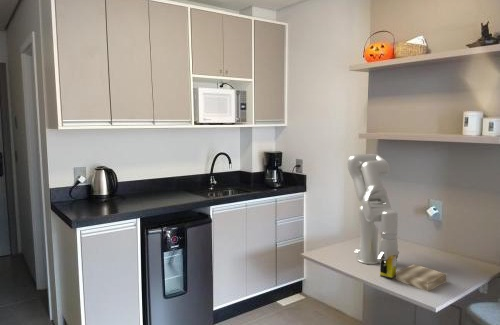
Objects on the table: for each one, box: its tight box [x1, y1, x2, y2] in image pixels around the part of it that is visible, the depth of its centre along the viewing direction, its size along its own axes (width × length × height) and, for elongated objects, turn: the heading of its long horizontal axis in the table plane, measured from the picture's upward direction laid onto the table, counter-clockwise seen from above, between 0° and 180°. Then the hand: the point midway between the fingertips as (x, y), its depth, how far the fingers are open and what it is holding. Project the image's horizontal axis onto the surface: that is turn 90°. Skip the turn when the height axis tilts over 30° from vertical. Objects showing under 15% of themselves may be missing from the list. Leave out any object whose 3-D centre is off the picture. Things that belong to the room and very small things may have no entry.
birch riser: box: [395, 264, 447, 292], centre depth 181 cm, size 16×16×4 cm
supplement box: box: [379, 255, 397, 280], centre depth 187 cm, size 6×6×11 cm
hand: (388, 270), depth 187 cm, fingers closed on supplement box, 6 cm apart
